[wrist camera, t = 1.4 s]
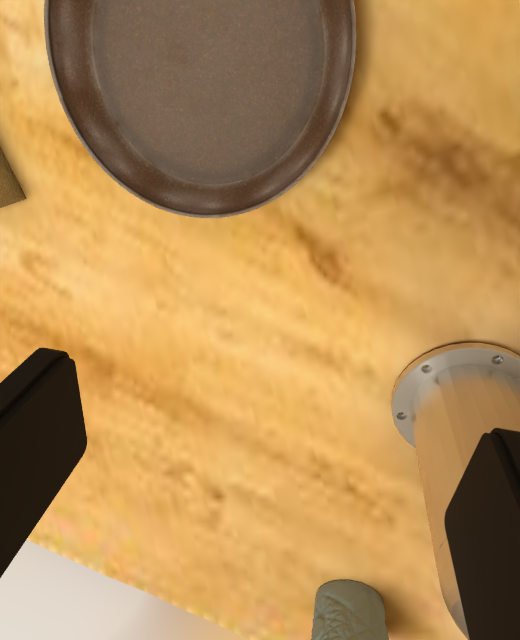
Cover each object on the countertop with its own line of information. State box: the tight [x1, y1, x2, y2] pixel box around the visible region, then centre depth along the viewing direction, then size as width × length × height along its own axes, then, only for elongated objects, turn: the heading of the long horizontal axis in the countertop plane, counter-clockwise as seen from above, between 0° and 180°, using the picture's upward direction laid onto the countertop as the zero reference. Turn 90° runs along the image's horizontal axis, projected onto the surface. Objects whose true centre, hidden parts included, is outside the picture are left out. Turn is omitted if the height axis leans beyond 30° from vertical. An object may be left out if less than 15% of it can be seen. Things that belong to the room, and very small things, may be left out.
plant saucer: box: [44, 0, 356, 218], centre depth 29 cm, size 21×21×3 cm
